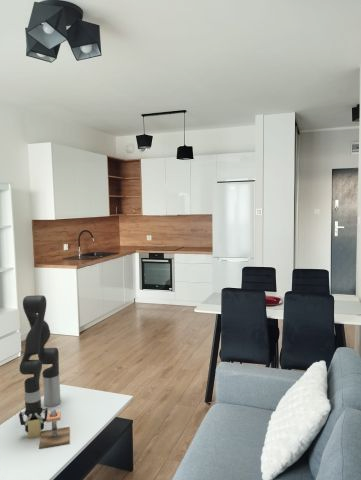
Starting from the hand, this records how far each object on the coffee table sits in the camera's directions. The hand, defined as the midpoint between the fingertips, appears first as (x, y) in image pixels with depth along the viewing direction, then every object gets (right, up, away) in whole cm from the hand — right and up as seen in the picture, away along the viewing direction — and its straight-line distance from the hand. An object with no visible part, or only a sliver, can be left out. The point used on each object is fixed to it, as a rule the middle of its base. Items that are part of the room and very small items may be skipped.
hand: (34, 430), depth 207 cm
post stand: (+12, -2, -4) cm, 12 cm away
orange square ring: (+11, +8, -5) cm, 15 cm away
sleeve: (0, -2, 0) cm, 2 cm away
